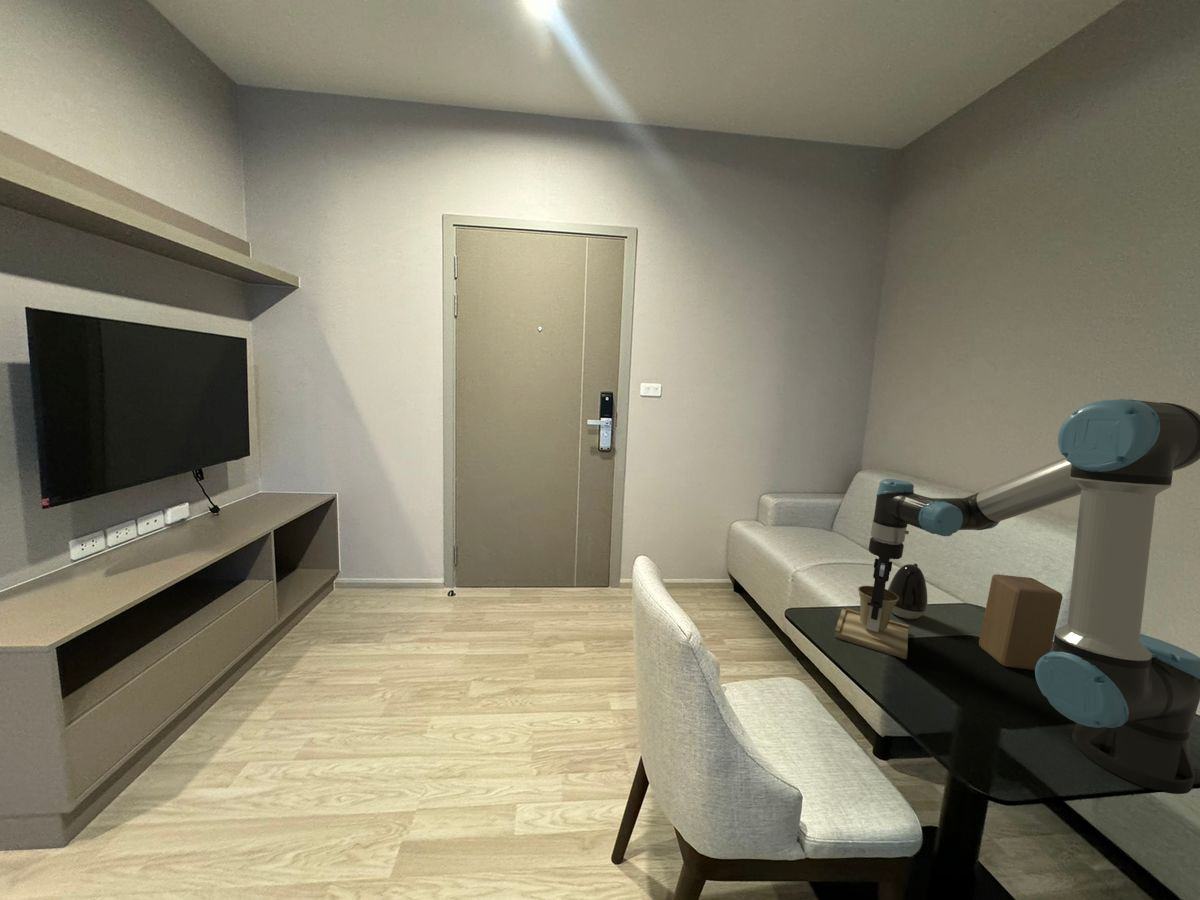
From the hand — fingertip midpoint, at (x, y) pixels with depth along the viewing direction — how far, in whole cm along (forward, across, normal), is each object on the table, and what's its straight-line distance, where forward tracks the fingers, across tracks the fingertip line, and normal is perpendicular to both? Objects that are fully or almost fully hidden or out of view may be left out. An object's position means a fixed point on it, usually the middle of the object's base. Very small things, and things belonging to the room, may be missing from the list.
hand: (873, 622), depth 130 cm
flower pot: (+1, 0, 0) cm, 1 cm away
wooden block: (+4, +10, -30) cm, 32 cm away
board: (+3, 0, 0) cm, 3 cm away
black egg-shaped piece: (+4, +20, -7) cm, 21 cm away
